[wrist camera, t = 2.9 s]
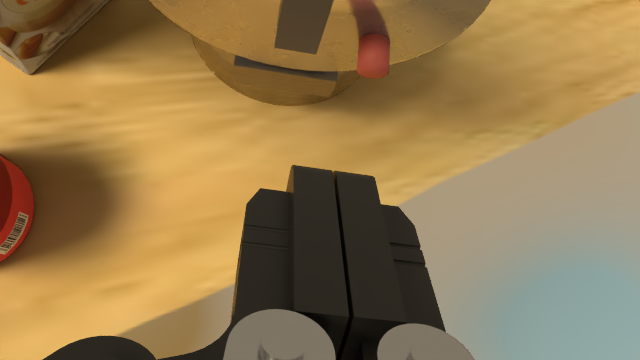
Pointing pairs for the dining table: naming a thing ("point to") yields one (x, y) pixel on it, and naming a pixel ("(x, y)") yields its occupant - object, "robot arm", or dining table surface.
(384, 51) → the lid
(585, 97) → the dining table surface
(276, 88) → the cooker pot
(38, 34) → the coffee box
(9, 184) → the canned food
